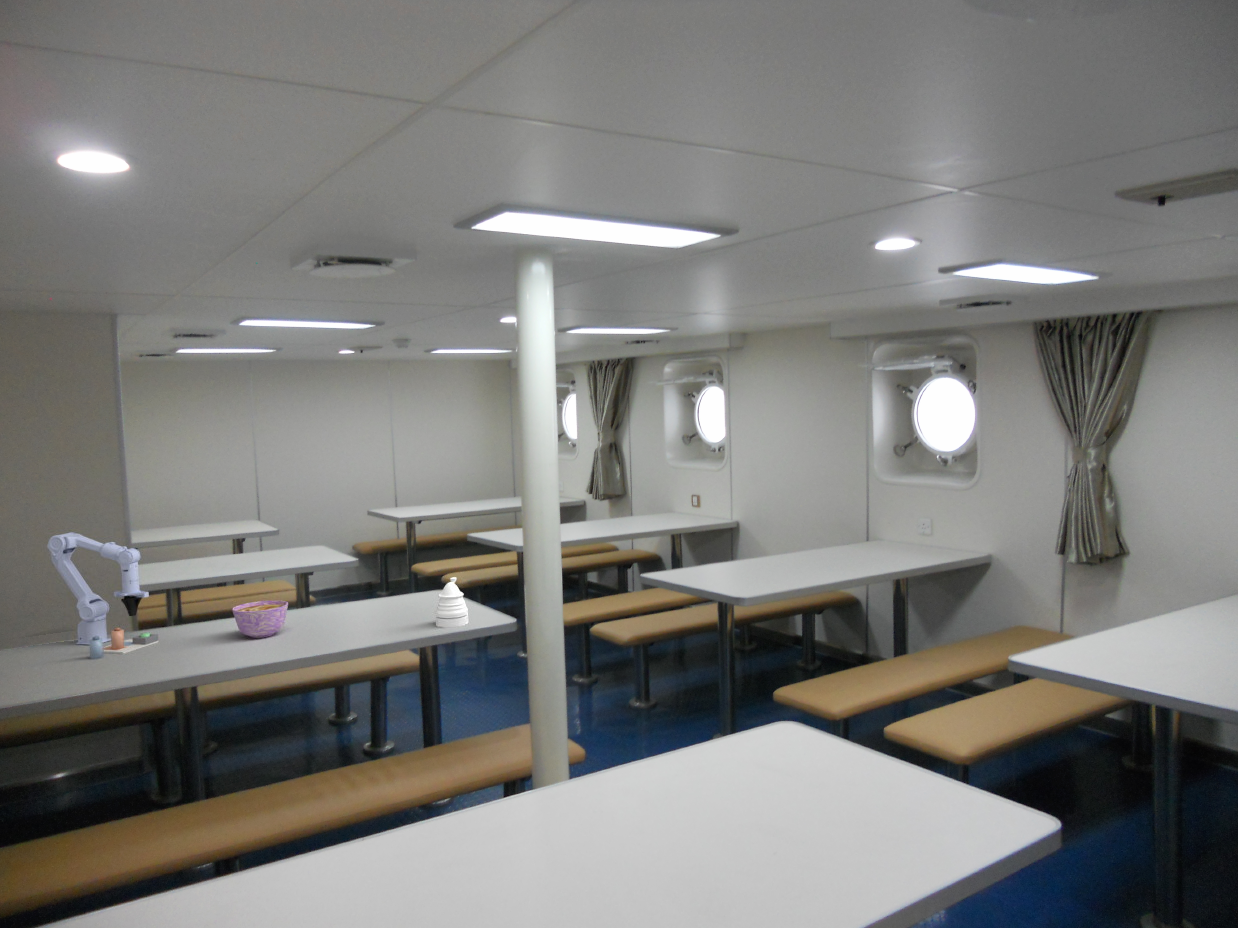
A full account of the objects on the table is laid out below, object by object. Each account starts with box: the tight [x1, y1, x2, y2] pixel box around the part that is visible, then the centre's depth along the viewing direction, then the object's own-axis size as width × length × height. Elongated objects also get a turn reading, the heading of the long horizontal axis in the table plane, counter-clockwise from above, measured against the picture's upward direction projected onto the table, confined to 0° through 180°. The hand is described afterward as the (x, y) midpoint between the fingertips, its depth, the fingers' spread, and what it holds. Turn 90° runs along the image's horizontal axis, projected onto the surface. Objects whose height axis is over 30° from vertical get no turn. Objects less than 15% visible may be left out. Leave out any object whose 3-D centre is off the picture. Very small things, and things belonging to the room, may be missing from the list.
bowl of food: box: [232, 600, 289, 639], centre depth 321 cm, size 20×20×12 cm
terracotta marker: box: [110, 626, 125, 649], centre depth 306 cm, size 4×4×8 cm
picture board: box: [103, 633, 160, 654], centre depth 310 cm, size 14×16×3 cm
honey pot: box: [434, 576, 469, 628], centre depth 330 cm, size 13×13×18 cm
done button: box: [140, 632, 151, 637], centre depth 314 cm, size 3×3×3 cm
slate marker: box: [88, 636, 105, 660], centre depth 296 cm, size 4×4×8 cm
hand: (132, 615), depth 319 cm, fingers closed
